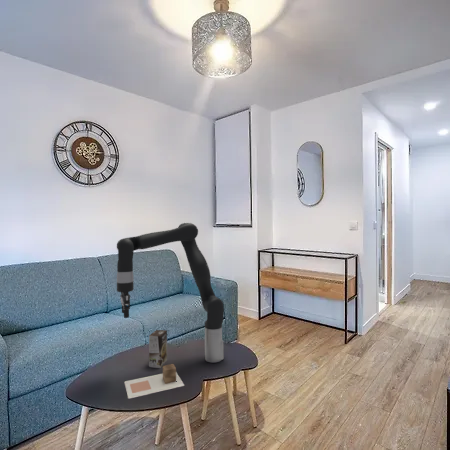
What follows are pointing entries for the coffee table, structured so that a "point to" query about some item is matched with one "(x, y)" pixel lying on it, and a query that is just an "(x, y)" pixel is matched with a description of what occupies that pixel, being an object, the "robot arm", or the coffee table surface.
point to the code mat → (150, 385)
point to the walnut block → (169, 373)
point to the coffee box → (157, 348)
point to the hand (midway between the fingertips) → (125, 315)
